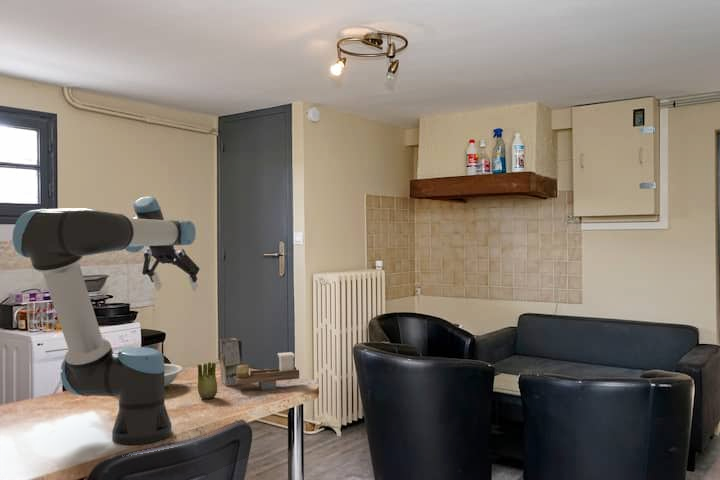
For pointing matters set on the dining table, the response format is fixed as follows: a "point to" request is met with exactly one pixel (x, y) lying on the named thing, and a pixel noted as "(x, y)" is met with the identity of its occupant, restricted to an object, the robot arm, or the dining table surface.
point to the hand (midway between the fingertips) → (177, 288)
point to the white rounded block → (286, 361)
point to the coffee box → (230, 359)
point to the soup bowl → (171, 373)
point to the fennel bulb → (207, 381)
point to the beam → (264, 376)
